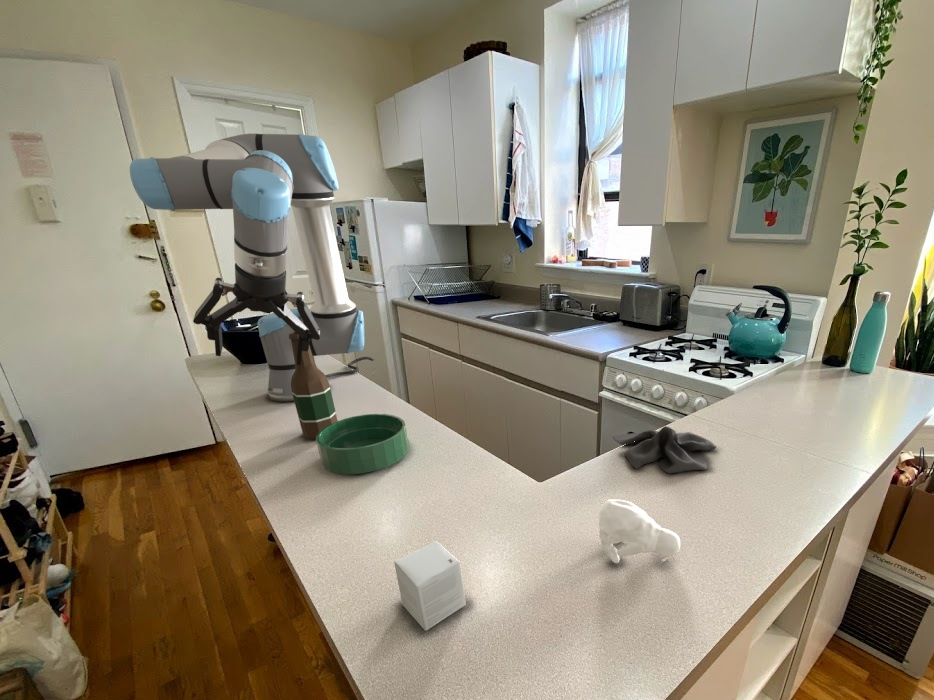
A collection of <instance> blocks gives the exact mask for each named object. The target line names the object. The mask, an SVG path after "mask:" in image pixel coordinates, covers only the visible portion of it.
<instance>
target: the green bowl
mask: <svg viewBox="0 0 934 700" xmlns="http://www.w3.org/2000/svg"><path fill="white" fill-rule="evenodd" d="M406 425H407V424H406V422H405V420H404V419H402V418H401V417H399V416H398V415H397V416H396V415H394V414H388V413H368V414H367V413H366V414H360V415H355V416H350V417H346V418H343V419H341V420H340V419H339V420H338V421H337V422H335V423H333V424H331V425H329V426H327V427H325V428H324V429H323V430H321V431H320V432H319V433H318V435H317V436H316V440H315V441H316V445H317V449H318V454H319V458H320V462H321V465H322V467H323V468H324V469H325V470H327V471H329V472H331V473H336V474H341V475H357V474H366V473H370V472H375V471H378V470H382V469H385V468H387V467H390V466H391V465H394V464H396V463H398V462H399V461H400V460H402V459H403V458H405V456H406V455H407V453H408V452H409V449H410V444H409V438H408V437H409V436H408V431H407V426H406Z"/></svg>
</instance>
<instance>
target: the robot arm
mask: <svg viewBox="0 0 934 700" xmlns="http://www.w3.org/2000/svg"><path fill="white" fill-rule="evenodd" d="M129 177H130V180H131V183H132V187H133V189H134V191H135V193H136V196H137V197H138V198H139V199H140V200H141V202H142V203H143V204H144V205H145V206H147V207H148V208H150V209H153V210H160V211H161V210H162V211H164V210H165V211H171V212H175V211H183V210H184V211H187V210H232V215H233V216H232V217H233V232H234V233H233V250H234V251H233V252H234V255H233V256H234V262H235V263H234V275H235V276H234V280H235V282H234V283H229V282H225V280H224V279H223V278H221V277H215V280H214V282H213V283H214V284H213V287H212V290H211V291H210V292H209V294H208V295H207V296H206V298H205V299H204V301H202V303H201V304H200V305H199V307H198V308H197V309H196V310H195V313H194V315H193V320H192V323H193V324H195V325H203V326H205V327H206V336H207V339H208V340H209V341H214V351H215V357H221V356H222V352H223V348H224V347H223V345H224V344H223V329H222V323H224V322H225V321H226V320H229V319H230V318H232V317H233V316H234V315H236V314H238V313H242V312H243V311H245V310H249V311H250V312H261V313H264V314H266V315H263V316H262V317H260V318H259V319H258V320H257V329H258V332H259V335H258V336H259V338H260V342H261V344H262V348H263V352H264V356H265V358H266V362H267V366H268V370H269V375H268V383H267V385H268V386H267V394H268V397H269V399H270V400H271V401H274V402H280V403H281V402H282V403H289V402H294V398H293V394H292V389H291V379H292V376H293V374H294V372H295V360H294V355H293V349H292V343H291V339H289V334H290V333H293V332H296V333H297V334H298V335H299V340H298V353H297V365H301V356H302V351H308V350H309V346H310V349H311V352H312V355H313V359H314V362H315V363H316V360H315V357H318V356H319V357H320V356H328V355H330V356H331V355H341V354H346V355H348V354H351V353H358V352H361V351H363V349H364V348H365V317H364V311H363V310H360V309H357V304H356V303H355V302H354V301H352V300H351V299H349V293H348V290H347V284H346V279H345V275H344V269H343V265H342V261H341V256H340V249H339V245H338V240H337V236H336V231H335V230H336V229H335V226H334V221H333V216H332V211H331V207H330V206H331V203H332V202H333V201H334V199H335V193H334V192H336V191H338V190H339V186H340V185H339V182H338V177H337V173H336V169H335V166H334V164H333V160H332V157H331V155H330V152H329V150H328V148H327V144H326V143H325V142H324V140H323V139H322V138H321V137H319V136H316V135H309V134H302V133H299V134H290V133H289V134H288V133H287V134H285V133H243V134H237V135H233V136H229V137H225V138H221V139H217V140H214V141H211V142H210V143H208V144H207V146H206V147H205V148H204V149H202V150H198V151H194V152H190V153H186V154H182V155H178V156H172V157H161V158H158V157H150V158H149V157H148V158H146V157H145V158H134V159H133V160H132V161H130V164H129ZM291 210H292V214H293V218H294V222H295V226H296V231H297V235H298V238H299V242H300V247H301V251H302V255H303V260H304V262H305V263H304V264H305V267H306V272H307V275H308V280H309V283H310V288H311V292H312V296H313V300H314V302H313V303H312V305H311V307H310V308H309V306H308V305H307V303H306V299H305V297H306V296H305V293H304V292H303V291H298V292H297V293H296V294H295V293H288V292H287V290H286V285H287V268H288V265H287V264H288V250H289V249H288V239H289V238H288V237H289V225H290V213H291ZM229 293H232V294H233V295H234V296H235V297H234V298H233V299H232V300H231V301H229V302H228V303H226V304H224V305H223V306H222V307H220V308H219V309H218V308H217V310H215V311H214V312H212V310H213V309H214V308H215V307H216V305H217V304H218V303H219V301H220V300H221V298H222V297H225V296H226V295H228V294H229ZM288 302H290V303H291V305H292V306H293V307H294V308H291V309H290V308H289V307H288V304H287V303H288ZM364 360H369V361H370V362H374V361H375V359H374V358H373V357H371V356H361V357H358V358H356V359H354V360H352V361H350V362H348V363H347V368H348V369H352V370H353V371H352V370H347V371H346V370H345V371H338V372H337V371H336V372H333V373H328V374H324V375H325V376H326V378H327V379H328V378H332V377H338V376H343V375H344V376H345V375H351V374H355V372H356V373H358V372H359V371H360V368H359V367H357V366H355V365H354V364H356V363H358V362H361V361H364ZM317 368H318V369H319V367H318V366H317Z"/></svg>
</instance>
